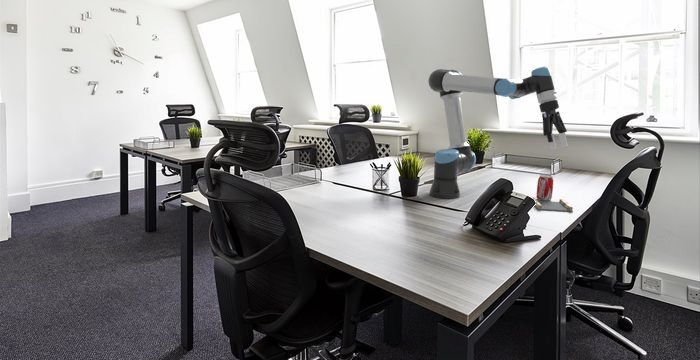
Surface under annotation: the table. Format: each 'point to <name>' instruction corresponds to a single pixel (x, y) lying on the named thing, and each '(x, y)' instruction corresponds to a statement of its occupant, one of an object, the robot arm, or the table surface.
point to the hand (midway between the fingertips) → (559, 148)
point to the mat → (552, 206)
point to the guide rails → (559, 201)
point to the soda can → (545, 188)
